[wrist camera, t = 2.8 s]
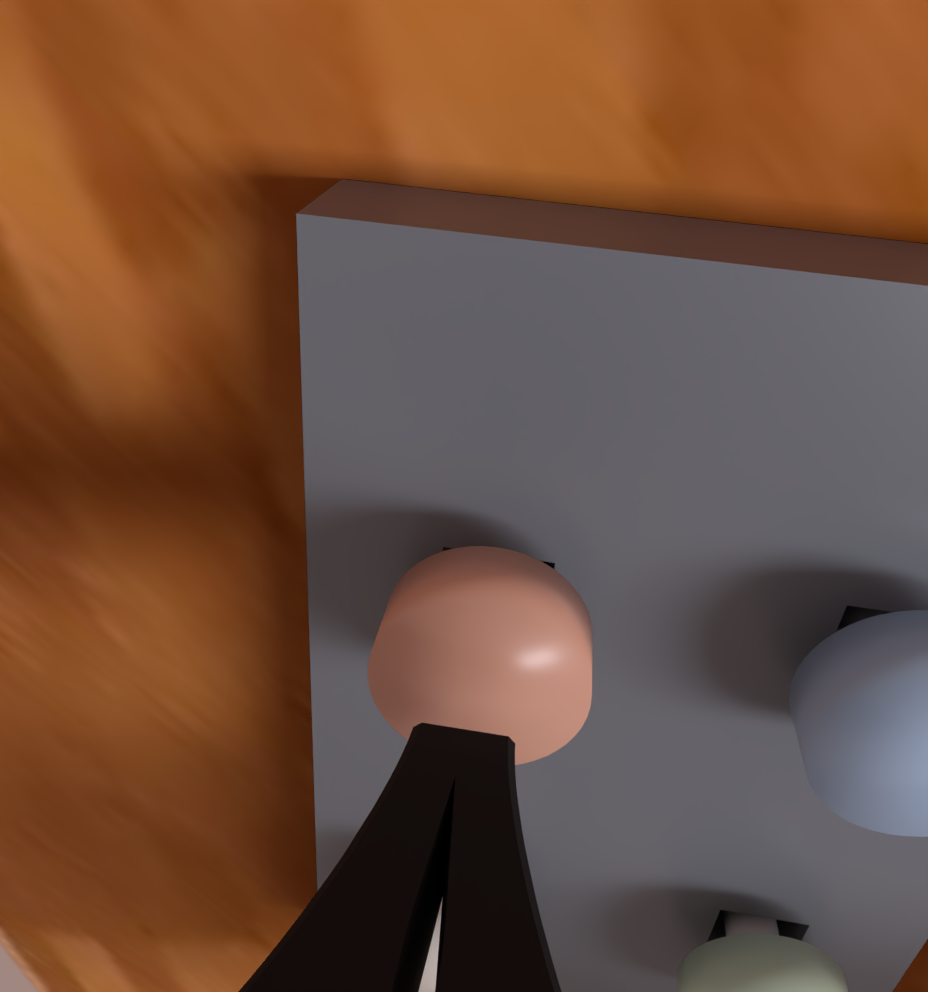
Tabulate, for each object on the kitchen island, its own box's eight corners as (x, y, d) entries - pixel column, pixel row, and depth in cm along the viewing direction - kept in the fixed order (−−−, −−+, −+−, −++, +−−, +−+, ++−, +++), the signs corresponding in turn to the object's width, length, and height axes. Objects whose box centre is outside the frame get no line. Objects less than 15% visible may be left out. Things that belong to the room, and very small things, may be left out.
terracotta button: (607, 492, 15) (609, 619, 12) (578, 640, 17) (573, 782, 14) (414, 466, 15) (369, 583, 12) (407, 614, 17) (366, 747, 14)
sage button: (842, 859, 19) (887, 1020, 16) (798, 944, 21) (830, 1103, 18) (687, 832, 20) (703, 987, 17) (657, 919, 22) (666, 1072, 19)
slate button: (1005, 547, 15) (1111, 694, 12) (929, 693, 17) (1002, 852, 14) (797, 518, 15) (847, 655, 12) (746, 665, 17) (777, 815, 14)
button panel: (1214, 275, 13) (1332, 332, 11) (802, 1003, 25) (821, 1097, 23) (342, 179, 14) (295, 213, 12) (343, 919, 26) (321, 1002, 24)
